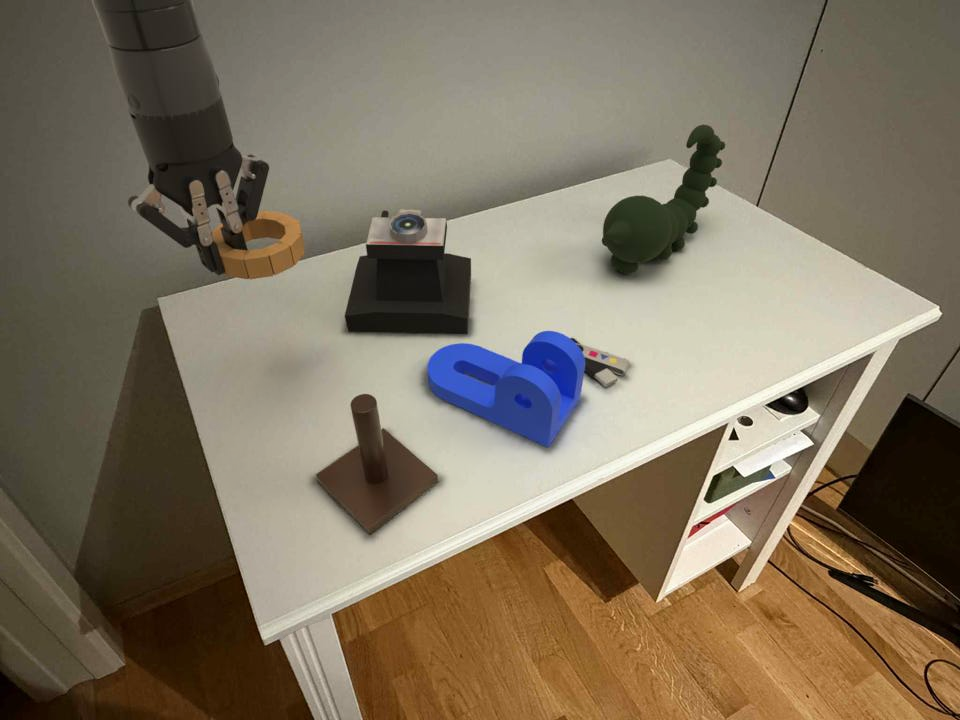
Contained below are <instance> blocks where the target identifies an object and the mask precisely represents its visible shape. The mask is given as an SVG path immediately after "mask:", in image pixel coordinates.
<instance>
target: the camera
mask: <svg viewBox="0 0 960 720" xmlns="http://www.w3.org/2000/svg"><path fill="white" fill-rule="evenodd" d="M389 214H390V212H389V210H388V211H387V210H385V209H384V210H382V211H381V214H380V215H381V216H372V217H371V221H370V226H369V228H368V229H369V230H368V234H367V238H366V243H365V248H366V255H361V256H359V257H358V261H357V264H356V267H355V271H354V276H353V279H352V283H351V288H350V291H349V296H348V300H347V304H346V309H345V312H344V319H345V325H346V329H347V332H355V333H356V332H358V333H359V332H361V333H362V332H363V333H407V334H408V333H409V334H453V335H454V334H459V335H468V333H469V332H468V331H469V317H470V316H469V315H470V299H471V296H470V295H471V283H472V282H471V281H472V258H471V257H466V256H462V255H458V254H457V255H456V254H452V253H448V252H445V251H446V241H447V234H448V233H447V231H448V222H447V218H445V217H444V218H443V217H441V218H440V217H425V216H424V215H423V211H422V209H397V214H395V215H394V216H391V217H389Z"/></svg>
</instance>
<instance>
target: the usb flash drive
mask: <svg viewBox="0 0 960 720" xmlns="http://www.w3.org/2000/svg"><path fill="white" fill-rule="evenodd" d="M569 338H570V339H571V340H573V341H574V342H575V343H576V344H577V345H578V347H579V348H580V349H581V351H582V353H583V355H584V358H585V371H584V372H586V373H587V374H588V375H589V376H590V377H591V378H593V379H596V380H597V381H598V382H599V383H600V384H601V385H603V387H605V388H607V387H608V386H610V385H612V384H615V383H616V382H618V379H619V378H618V376H617V375H619V376H624V375H625V373H626V371H627V369H628V367H629V366H630V360H628V359H626V358H623V357H620V356H617V355H614V354H611V353H609V352H605V351H602V350H600V349H596V348H593V347H591V346H587V345H584V344H581V343H580V342H579V341H578V340H577V339H575V338H574V337H569Z"/></svg>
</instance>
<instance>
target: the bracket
mask: <svg viewBox="0 0 960 720" xmlns="http://www.w3.org/2000/svg"><path fill="white" fill-rule="evenodd" d="M570 338H571V337H569V336H567V335H565V334H563V333H561V332H558V331H553V330H543V331H540V332H538V333H537V334H535V335H534V336H533V337H532V339H531V340H530V341H529V342H528V344H526V346H525V347H524V349H523V351H522V354H521V362H518V361H516V360H513V359H511V358H509V357H507V356H505V355H501V354H500V353H499V354H498V353H497V352H494V351H492V350H489V349H487V348H485V347H482V346H480V345H477V344H473V343H467V342H462V343H461V342H459V343H453V344H449V345H445V346H443V347H441V348H439V349H437V350H436V351H435V352H434V353H433V354H432V355H431V356H430V357H429V360H428V362H427V380H428V381H427V383H428V386H429V389H430V390H431V391H432V393H433V394H434V395H435V396H436V397H437V398H439V399H441V400H442V401H445V402H447V403H450V404H452V405H454V406H456V407H458V408H460V409H463V410H464V411H467V412H469V413H471V414H474V415H476V416H478V417H480V418H483V419H485V420H487V421H488V422H491V423H494V424H496V425H497V426H500V427H502V428H505V429H506V430H508V431H511V432H513V433H516V434H518V435H520V436H522V437H524V438H526V439H529V440H531V441H533V442H535V443H537V444H539V445H542V446H544V447H545V448H549V447H550V446H551V444H552V443H553V441H554V440H555V438H556V437H557V435H558V434H559V432H560V431H561V429H562V428H563V426H564V425H565V423H566V422H567V420H568V419H569V417H570V415H571V414H572V413H573V411H574V410H575V408H576V407H577V405H578V404H579V402H580V400H581V396H582V395H581V394H582V390H583V383H584V378H585V377H584V376H585V372H586V371H585V358H584V355H583V353H582V351H581V349H580V348H579V347H578V345H577V344H576V343H575V342H574V341H573V340H571V339H570ZM466 374H467V375H466ZM469 375H470V376H469ZM473 377H474V378H473ZM475 378H476V379H475ZM480 380H481V381H480ZM484 382H485V383H484Z"/></svg>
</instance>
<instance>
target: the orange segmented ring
mask: <svg viewBox="0 0 960 720" xmlns="http://www.w3.org/2000/svg"><path fill="white" fill-rule="evenodd" d="M222 227H223V224H221V223H219V224H218V225H217V226H216V227H215V228H214V229H213V230H211V234H212V238H213V241H215V242H216V243H217V246H218V250H219V253H220V256H221V259H222V262H223V265H224V268H225V273H223V274H224V275H226V276H227V277H230V278H231V277H232V278H236V279H242V280H243V279H244V280H256V279H262V278H268V277H269V278H270V277H273V276H277V275H279V274H281V273H283V272H285V271H287V270H290V269H291V268H294V267H295V266H296V265H297V264H298V262H299V261H300V260H301V259H302V258H303V256H304V255H305V253H306V248H305V241H304V236H303V232H302V227H301V223H300V221H299V220H298V219H296V218H294V217H292V216H291V215H289V214H287V213H285V212H277V211H271V210H266V211H265V210H262V211H258V215H257V218H256V219H255V220H253V221H248V222H247V223H246V224H245V225H244V226H243V229H242V231H243V235H244V239H245V242H246V243H249V242H250V241H252V240H258V239H266V238H269V239H275V240H279V241H277V242H275V243H273V244H271V245H268V246H265V247H264V248H257V249H248V251H246V250H239V249H233V248H231V247H230V246H229V245H227V244H226V243H225V241H224V239H223V235H222V232H221V229H220V228H222Z"/></svg>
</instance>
